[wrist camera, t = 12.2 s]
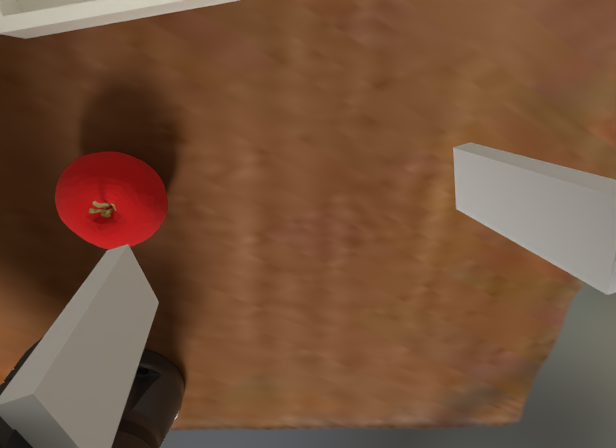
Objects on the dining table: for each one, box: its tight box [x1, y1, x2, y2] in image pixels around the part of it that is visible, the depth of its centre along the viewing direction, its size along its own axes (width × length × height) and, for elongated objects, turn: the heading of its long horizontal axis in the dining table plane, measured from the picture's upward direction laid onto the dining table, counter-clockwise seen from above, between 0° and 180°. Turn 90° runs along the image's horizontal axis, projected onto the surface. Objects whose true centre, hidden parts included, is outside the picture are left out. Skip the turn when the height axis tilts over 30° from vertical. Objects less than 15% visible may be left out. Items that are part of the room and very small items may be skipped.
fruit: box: [55, 151, 168, 250], centre depth 32 cm, size 9×9×10 cm
